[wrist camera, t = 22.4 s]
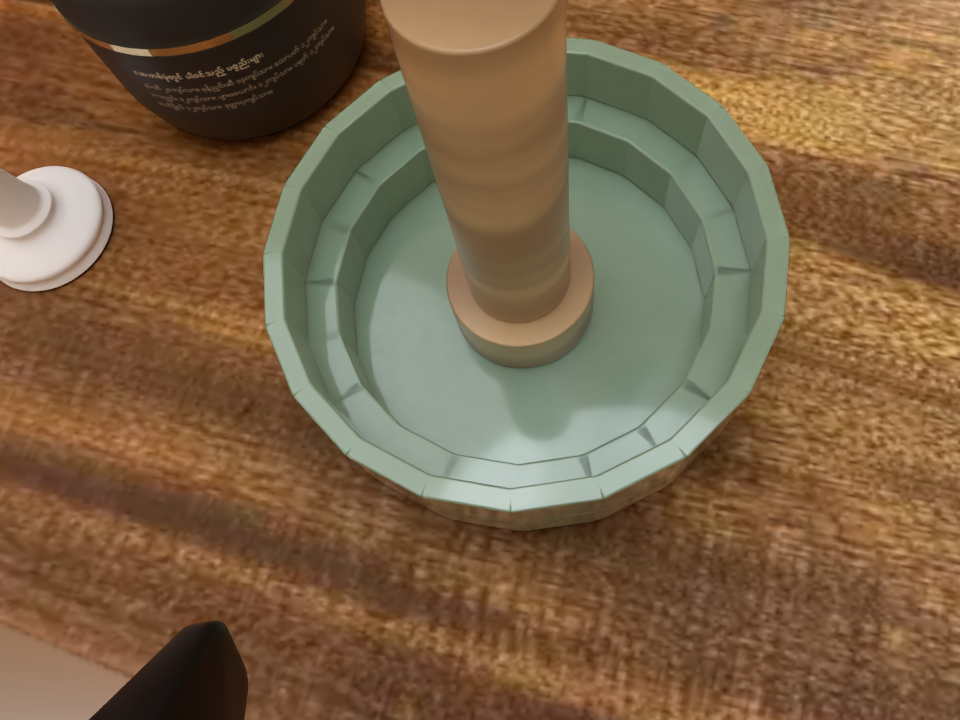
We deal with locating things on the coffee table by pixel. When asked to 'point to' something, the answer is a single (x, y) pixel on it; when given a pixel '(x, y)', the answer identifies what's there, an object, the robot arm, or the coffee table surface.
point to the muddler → (500, 168)
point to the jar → (225, 57)
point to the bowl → (594, 359)
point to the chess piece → (50, 226)
